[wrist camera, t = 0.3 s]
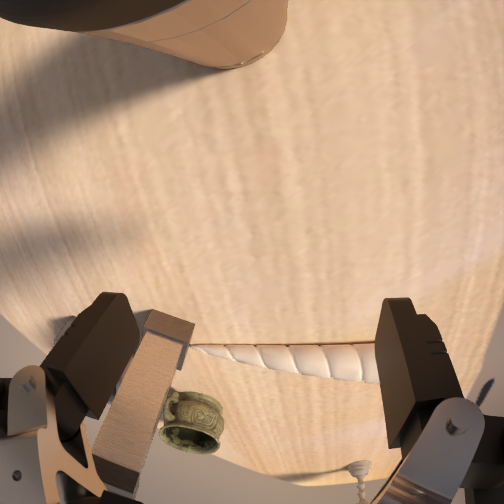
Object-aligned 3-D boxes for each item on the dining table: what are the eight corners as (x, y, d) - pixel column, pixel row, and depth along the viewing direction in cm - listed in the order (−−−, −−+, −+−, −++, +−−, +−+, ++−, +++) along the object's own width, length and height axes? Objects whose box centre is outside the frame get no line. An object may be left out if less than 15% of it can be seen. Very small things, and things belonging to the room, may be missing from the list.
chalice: (340, 473, 51) (343, 547, 35) (341, 461, 48) (345, 543, 32) (374, 468, 50) (381, 541, 34) (379, 456, 47) (387, 536, 31)
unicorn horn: (188, 319, 34) (176, 349, 30) (398, 334, 33) (409, 364, 28) (191, 348, 36) (181, 379, 32) (385, 362, 35) (393, 391, 31)
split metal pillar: (148, 338, 36) (83, 484, 18) (152, 309, 33) (74, 468, 16) (187, 352, 36) (137, 506, 18) (195, 324, 34) (138, 495, 16)
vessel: (149, 388, 41) (136, 422, 35) (196, 376, 38) (185, 414, 33) (199, 429, 45) (192, 461, 40) (245, 421, 43) (240, 456, 37)
